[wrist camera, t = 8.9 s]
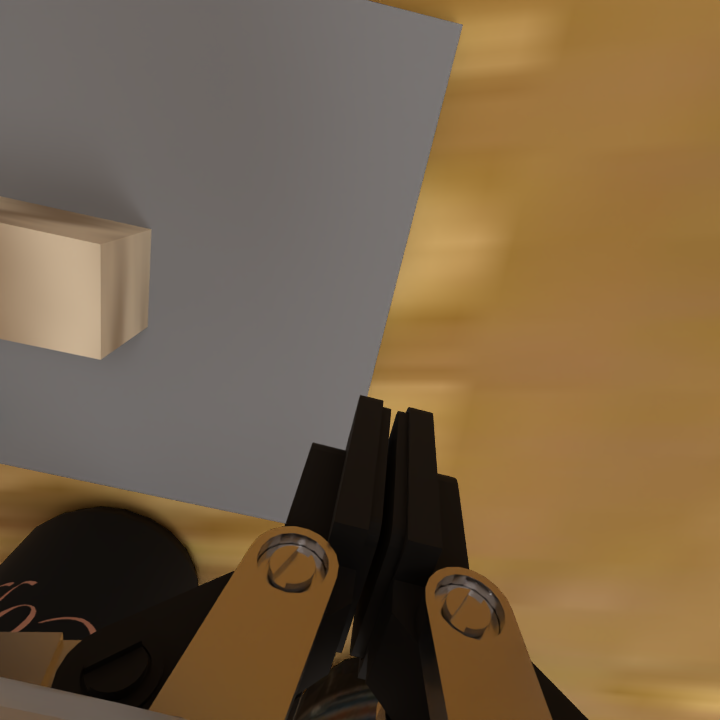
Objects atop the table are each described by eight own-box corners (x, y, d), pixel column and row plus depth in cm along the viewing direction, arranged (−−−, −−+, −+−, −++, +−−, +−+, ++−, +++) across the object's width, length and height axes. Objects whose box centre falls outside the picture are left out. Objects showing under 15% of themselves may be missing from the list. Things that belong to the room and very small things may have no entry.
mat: (458, 31, 18) (472, 8, 15) (333, 520, 27) (327, 561, 25) (-248, -149, 17) (-369, -208, 14) (-131, 422, 26) (-192, 453, 24)
